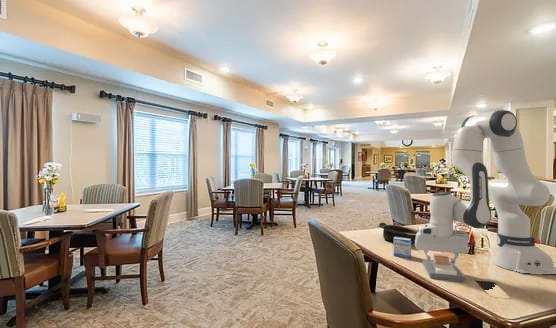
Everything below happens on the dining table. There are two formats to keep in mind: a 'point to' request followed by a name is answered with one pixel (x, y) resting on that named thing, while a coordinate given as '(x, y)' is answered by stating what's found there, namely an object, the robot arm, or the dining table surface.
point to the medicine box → (402, 247)
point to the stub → (440, 259)
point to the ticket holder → (443, 271)
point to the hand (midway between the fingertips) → (440, 261)
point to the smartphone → (486, 284)
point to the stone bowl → (398, 232)
